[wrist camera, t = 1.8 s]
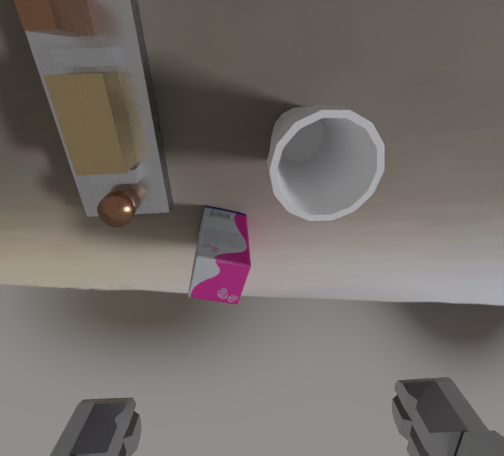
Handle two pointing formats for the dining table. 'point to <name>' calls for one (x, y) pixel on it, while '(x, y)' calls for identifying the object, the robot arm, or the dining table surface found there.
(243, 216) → the supplement box
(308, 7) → the dining table surface
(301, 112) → the foam cup
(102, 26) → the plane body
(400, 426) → the robot arm
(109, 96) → the tan upright box
